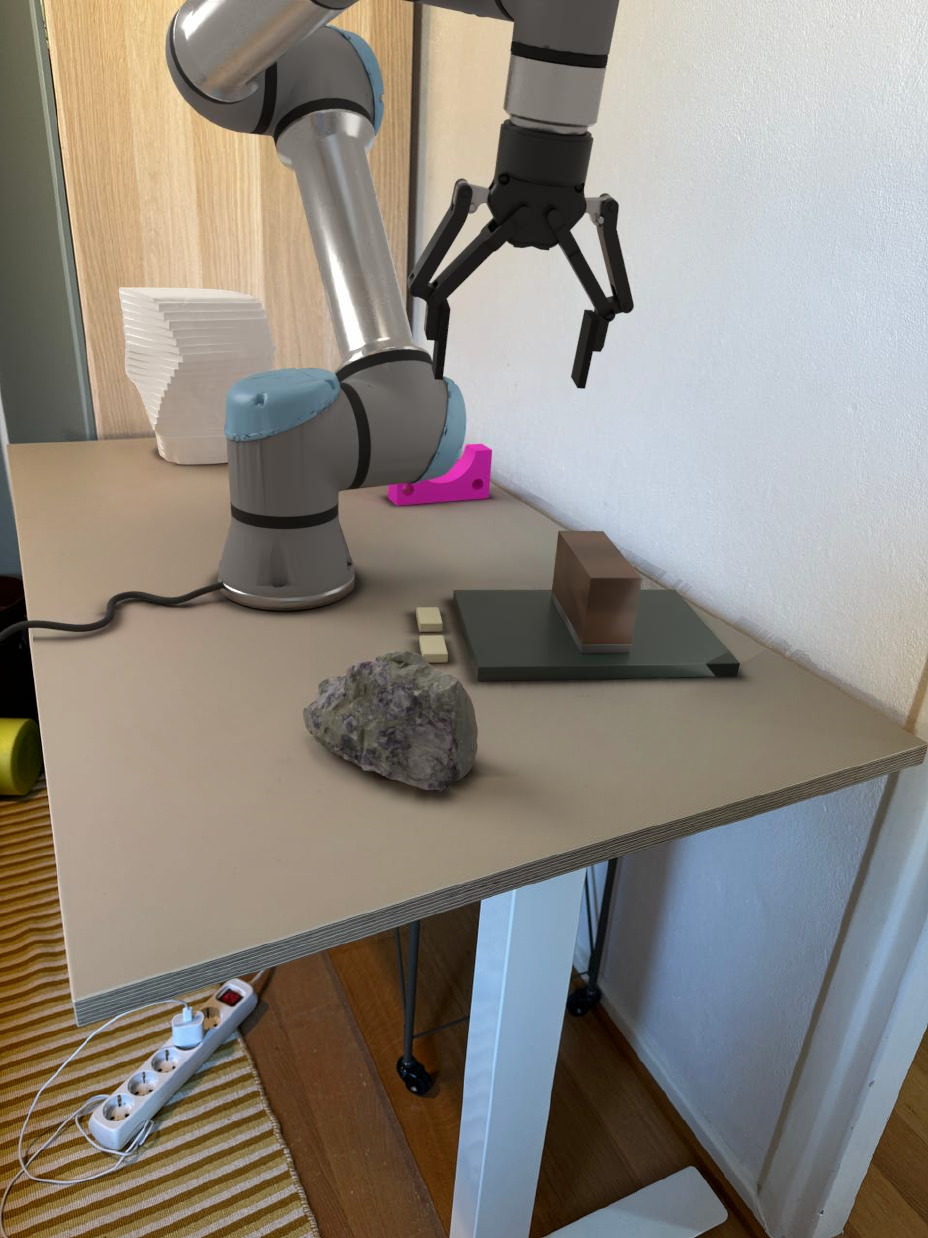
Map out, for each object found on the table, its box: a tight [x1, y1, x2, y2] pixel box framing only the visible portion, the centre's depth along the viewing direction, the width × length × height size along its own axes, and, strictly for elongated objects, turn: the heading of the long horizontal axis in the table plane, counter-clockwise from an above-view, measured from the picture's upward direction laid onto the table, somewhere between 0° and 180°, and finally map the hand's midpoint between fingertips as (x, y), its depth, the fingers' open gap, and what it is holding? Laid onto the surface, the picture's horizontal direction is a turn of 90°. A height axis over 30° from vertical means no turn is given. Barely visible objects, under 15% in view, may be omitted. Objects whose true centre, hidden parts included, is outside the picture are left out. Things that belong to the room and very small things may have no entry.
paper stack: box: [118, 286, 277, 466], centre depth 141 cm, size 21×27×26 cm
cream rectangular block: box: [415, 606, 443, 633], centre depth 92 cm, size 4×2×1 cm, turn 8°
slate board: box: [452, 588, 741, 682], centre depth 91 cm, size 18×26×2 cm
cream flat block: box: [418, 634, 449, 664], centre depth 86 cm, size 4×2×1 cm, turn 8°
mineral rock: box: [302, 649, 479, 793], centre depth 68 cm, size 13×11×10 cm
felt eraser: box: [551, 530, 643, 653], centre depth 89 cm, size 13×5×8 cm, turn 8°
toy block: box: [387, 443, 493, 506], centre depth 132 cm, size 15×6×8 cm, turn 114°
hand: (508, 378), depth 82 cm, fingers open, 13 cm apart
